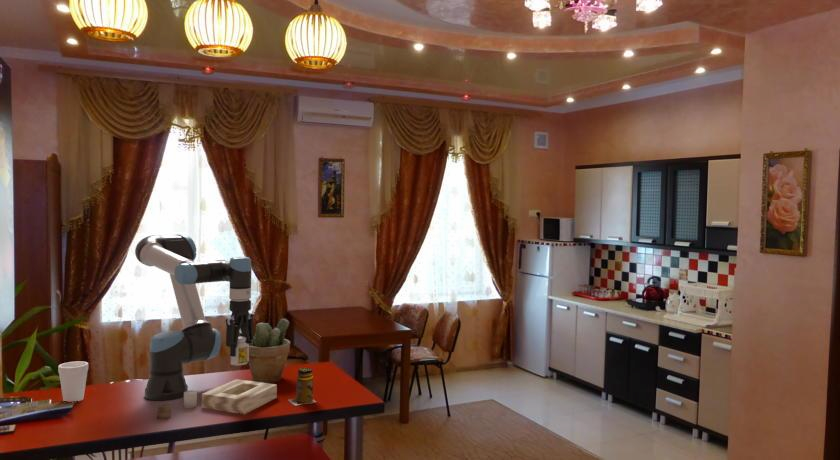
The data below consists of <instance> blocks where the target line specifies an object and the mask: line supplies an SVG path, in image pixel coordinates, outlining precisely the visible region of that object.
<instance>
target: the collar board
mask: <svg viewBox="0 0 840 460" xmlns="http://www.w3.org/2000/svg"><path fill="white" fill-rule="evenodd" d="M277 387H278V385H277V384H275V383H262V382H254V380H245V379H238V378H237V379H233V380H231V381H229V382H227V383H224V384H222V385H219V386H217V387H215V388H212V389H210V390H208V391H205V392H203V393H201V409H207V410H213V411H214V410H215V411H220V412H227V413H233V414H239V413H240V414H239V415H246V414H248V413H250V412H251V411H254V410H257V408H260V407H261V406H263V405H265V404H267V403H269V402H272V401H273V400H275V399H277V396H278V388H277Z"/></svg>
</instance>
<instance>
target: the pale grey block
mask: <svg viewBox="0 0 840 460" xmlns="http://www.w3.org/2000/svg"><path fill="white" fill-rule="evenodd" d="M197 404H198V390H192V389H191V390H188V391H185V392H184V396H183V407H184V408H185V409H192V408H195V407H197V406H198V405H197Z"/></svg>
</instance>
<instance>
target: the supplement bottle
mask: <svg viewBox="0 0 840 460" xmlns="http://www.w3.org/2000/svg"><path fill="white" fill-rule="evenodd" d="M245 341H246V337H242V336H239V337H238V342H237V347H238V365H237V366H244V365H247V364H248V345H247V343H246V342H245Z"/></svg>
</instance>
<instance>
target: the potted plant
mask: <svg viewBox="0 0 840 460" xmlns="http://www.w3.org/2000/svg"><path fill="white" fill-rule="evenodd" d="M289 325H290V321H289V320H288V319H287V318H281V319H279V321H277V324H276V327H274V328H273V327H272V326H271V325H270V323H268V322H266V323H265V322H259V323H257V324H256V325H255V332H254V335H253V340H251V341H252V343H249V361H248V362H247V364H248V366H249V370H250V374H251V377H252V381H254V382H262V383H269V384H274V383H276V382H279V381H281V380H282V376H283V374H284V370H285V367H286V364H287V359H288V354H289V353H290V348H291V347H290V346H291V341H290V340H289V339H286V337H285V336H286V334H287V333H286V332H287V330H288V328H289Z"/></svg>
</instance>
